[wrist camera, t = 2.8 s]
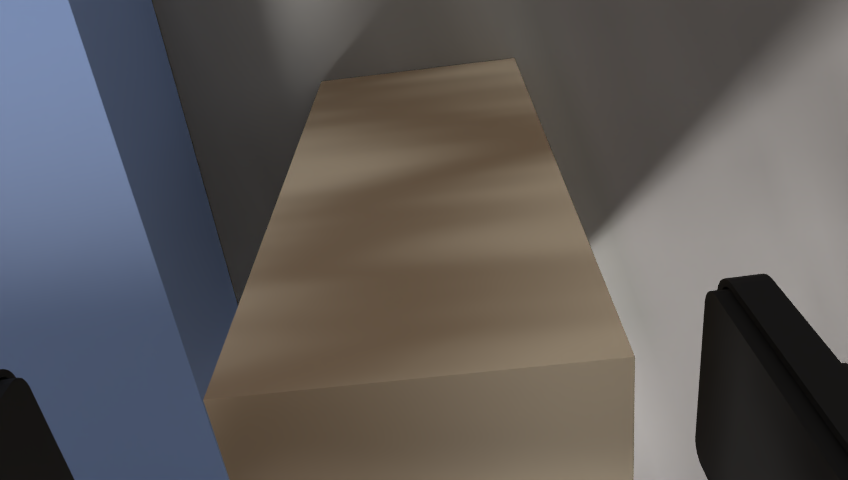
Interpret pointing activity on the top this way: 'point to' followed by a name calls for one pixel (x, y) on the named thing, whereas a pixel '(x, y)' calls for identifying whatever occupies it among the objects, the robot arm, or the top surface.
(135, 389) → the blue base grey panel
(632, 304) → the top surface
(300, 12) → the top surface
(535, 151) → the tan wooden pillar
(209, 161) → the top surface
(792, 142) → the top surface
